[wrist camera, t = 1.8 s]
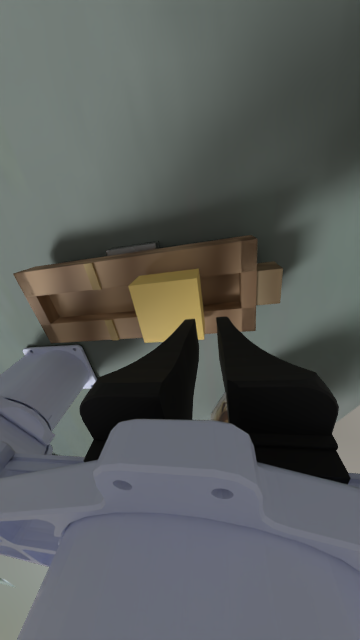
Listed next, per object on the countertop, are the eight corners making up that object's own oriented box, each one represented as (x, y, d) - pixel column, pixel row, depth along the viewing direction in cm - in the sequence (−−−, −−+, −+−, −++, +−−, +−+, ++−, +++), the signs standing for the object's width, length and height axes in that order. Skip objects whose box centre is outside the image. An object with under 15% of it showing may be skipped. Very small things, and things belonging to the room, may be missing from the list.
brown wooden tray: (65, 330, 25) (49, 344, 22) (34, 266, 21) (11, 274, 19) (270, 315, 20) (279, 330, 18) (275, 231, 17) (287, 235, 14)
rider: (157, 317, 21) (144, 342, 17) (145, 269, 18) (128, 286, 14) (205, 313, 20) (204, 339, 16) (199, 262, 18) (196, 278, 14)
